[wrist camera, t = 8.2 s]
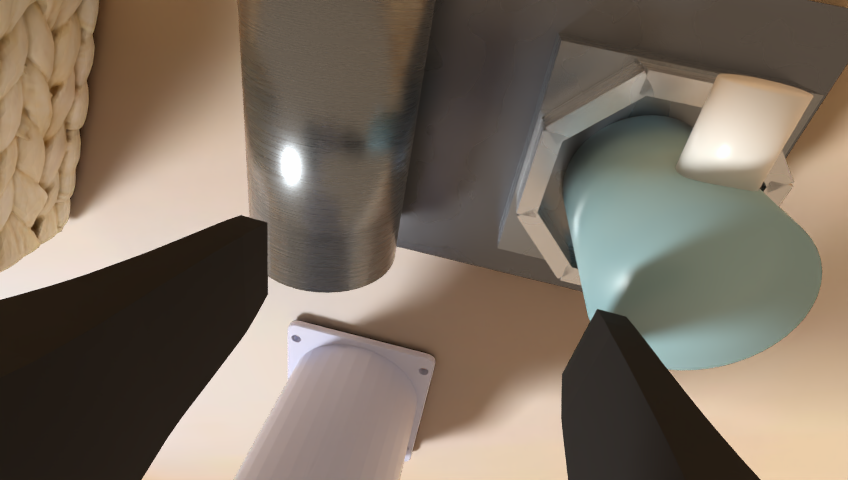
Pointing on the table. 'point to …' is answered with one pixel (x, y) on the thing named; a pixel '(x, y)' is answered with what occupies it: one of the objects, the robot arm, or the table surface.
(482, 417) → the table surface
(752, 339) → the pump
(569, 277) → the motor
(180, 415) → the robot arm
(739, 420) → the table surface
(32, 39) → the storage basket
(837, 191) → the table surface
